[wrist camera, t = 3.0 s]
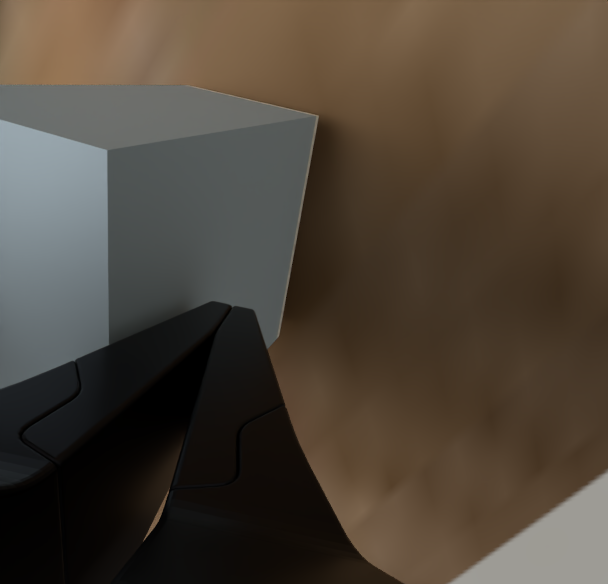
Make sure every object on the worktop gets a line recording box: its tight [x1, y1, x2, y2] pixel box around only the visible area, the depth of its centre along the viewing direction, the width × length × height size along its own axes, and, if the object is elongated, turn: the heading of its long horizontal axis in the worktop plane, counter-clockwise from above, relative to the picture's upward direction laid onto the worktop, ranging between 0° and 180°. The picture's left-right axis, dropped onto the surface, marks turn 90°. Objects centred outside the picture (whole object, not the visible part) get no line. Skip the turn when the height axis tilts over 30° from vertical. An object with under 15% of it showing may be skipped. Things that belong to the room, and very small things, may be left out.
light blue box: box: [0, 85, 319, 389], centre depth 11 cm, size 7×4×8 cm, turn 170°
